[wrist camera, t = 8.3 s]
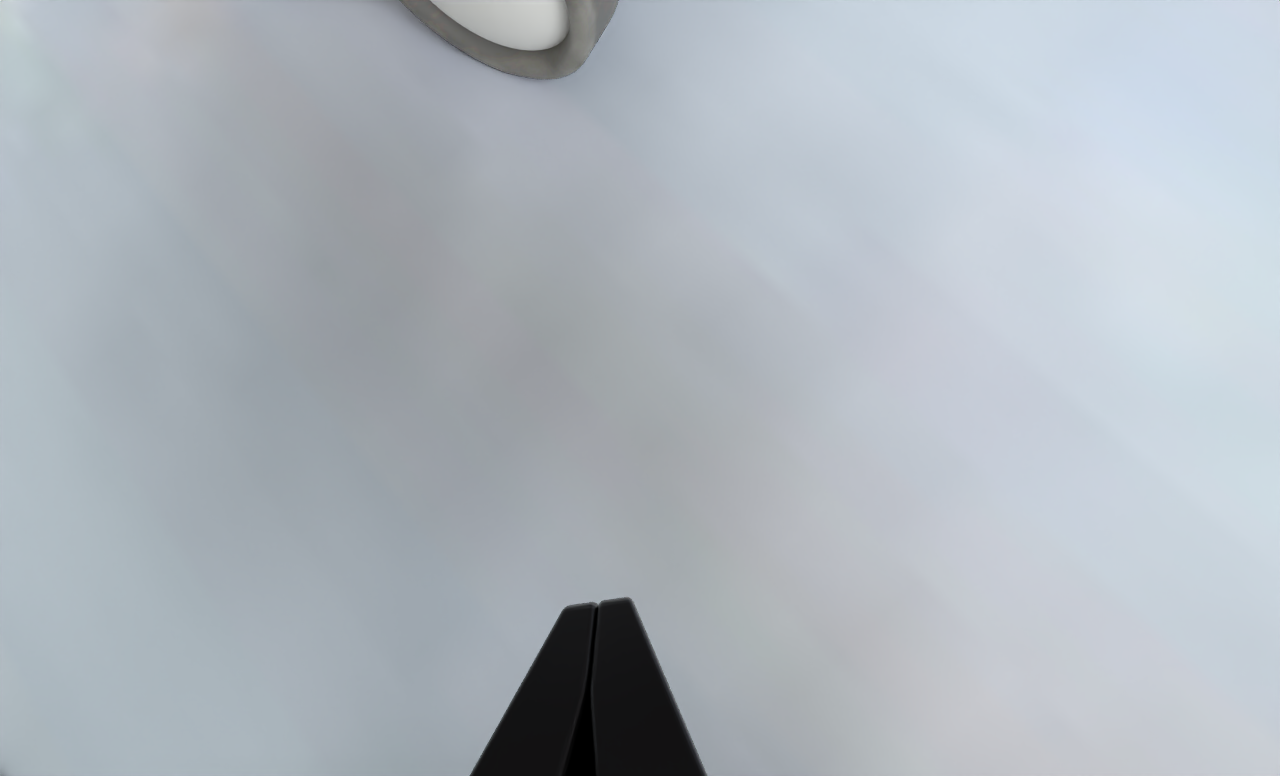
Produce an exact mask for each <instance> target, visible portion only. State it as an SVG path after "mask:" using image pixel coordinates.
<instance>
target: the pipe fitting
mask: <svg viewBox="0 0 1280 776" xmlns="http://www.w3.org/2000/svg"><path fill="white" fill-rule="evenodd" d="M400 1H401V2H402V3H403V4H404V5H405V6H406V7H407V8H408V9H409V10H410V11H411V12H412V13H413V14H414V15H415V16H417V17H418V18H419V19H420V20H421V21H422V22H423V23H425V24H426V25H427V26H428V27H429V28H430V29H432V30H433V31H434V32H436V33H437V34H438V35H439V36H441V37H442V38H443V39H445V40H446V41H447V42H449V43H450V44H452V45H453V46H455V47H457V48H458V49H460V50H461V51H463V52H464V53H466V54H468V55H469V56H471V57H473V58H475V59H477V60H478V61H480V62H482V63H484V64H486V65H488V66H491V67H493V68H495V69H498V70H500V71H503V72H506V73H509V74H514V75H518V76H523V77H528V78H534V79H557V78H561V77H565V76H567V75H570V74H571V73H573V72H575V71H576V70H577V69H579V68H580V67H581V66H582V64H583V63H584V62H585V60H586V59H587V57H588V56H589V54H590V52H591V51H592V49H593V48H594V46H595V44H596V43H597V41H598V39H599V38H600V36H601V35H602V33H603V31H604V30H605V28H606V26H607V25H608V23H609V21H610V20H611V18H612V16H613V14H614V12H615V9H616V7H617V4H618V0H400Z"/></svg>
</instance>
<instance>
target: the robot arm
mask: <svg viewBox="0 0 1280 776" xmlns="http://www.w3.org/2000/svg"><path fill="white" fill-rule="evenodd" d="M470 776H707V774H706V772H705V769H704V767H703V765H702V762H701V760H700V758H699V755H698V753H697V750H696V748H695V746H694V743H693V741H692V739H691V736H690V734H689V732H688V729H687V727H686V725H685V722H684V720H683V718H682V715H681V713H680V711H679V708H678V706H677V703H676V701H675V699H674V696H673V694H672V692H671V689H670V687H669V685H668V682H667V680H666V678H665V675H664V673H663V671H662V668H661V666H660V664H659V661H658V659H657V657H656V654H655V652H654V649H653V647H652V645H651V642H650V640H649V638H648V635H647V633H646V631H645V628H644V626H643V624H642V621H641V619H640V617H639V614H638V612H637V610H636V607H635V605H634V603H633V601H632V599H630V598H628V597H624V598H617V599H610V600H604V601H602V602H601V603H600V604H599V605H598V604H597V603H594V602H589V603H582V604H575V605H570V606H567V607H566V608H564V609H563V611H562V612H561V614H560V616H559V617H558V619H557V621H556V623H555V625H554V626H553V628H552V630H551V632H550V633H549V635H548V637H547V639H546V641H545V642H544V644H543V646H542V648H541V650H540V651H539V653H538V655H537V657H536V658H535V660H534V662H533V664H532V666H531V667H530V669H529V671H528V673H527V675H526V676H525V678H524V680H523V682H522V683H521V685H520V687H519V689H518V691H517V692H516V694H515V696H514V698H513V700H512V701H511V703H510V705H509V707H508V708H507V710H506V712H505V714H504V716H503V717H502V719H501V721H500V723H499V724H498V726H497V728H496V730H495V732H494V733H493V735H492V737H491V739H490V741H489V742H488V744H487V746H486V748H485V749H484V751H483V753H482V755H481V757H480V758H479V760H478V762H477V764H476V766H475V767H474V769H473V771H472V773H471V774H470Z"/></svg>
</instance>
